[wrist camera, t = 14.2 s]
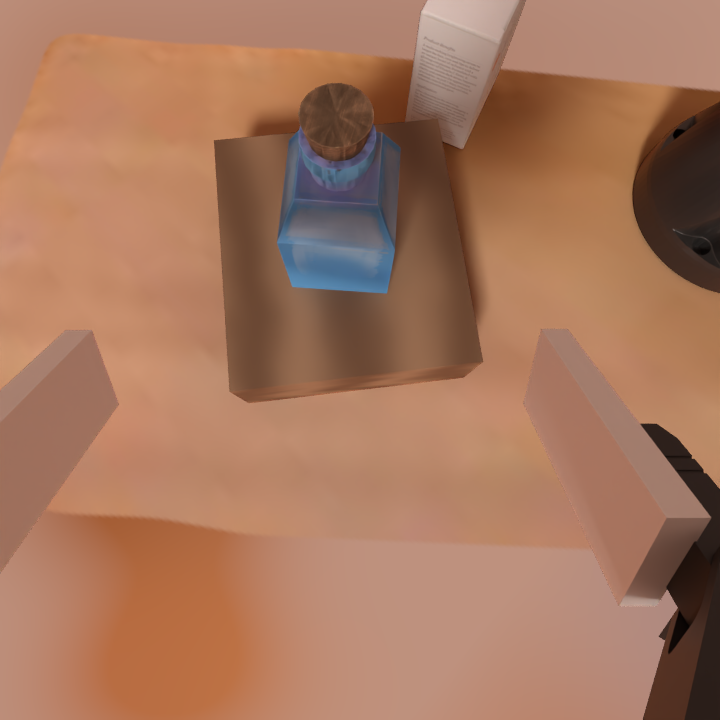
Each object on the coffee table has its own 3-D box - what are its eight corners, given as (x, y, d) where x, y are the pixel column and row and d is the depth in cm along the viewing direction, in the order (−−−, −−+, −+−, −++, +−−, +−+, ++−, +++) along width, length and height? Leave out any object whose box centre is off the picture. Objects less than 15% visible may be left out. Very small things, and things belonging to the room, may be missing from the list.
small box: (438, 56, 41) (466, -80, 31) (497, 80, 41) (545, -50, 30) (401, 127, 39) (418, 9, 29) (462, 152, 39) (501, 41, 29)
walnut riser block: (425, 170, 39) (438, 118, 33) (461, 378, 35) (483, 361, 29) (235, 189, 39) (214, 140, 33) (250, 404, 35) (229, 391, 29)
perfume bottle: (301, 201, 32) (270, 48, 20) (391, 208, 32) (413, 58, 20) (292, 287, 30) (253, 175, 19) (386, 293, 30) (407, 186, 19)
